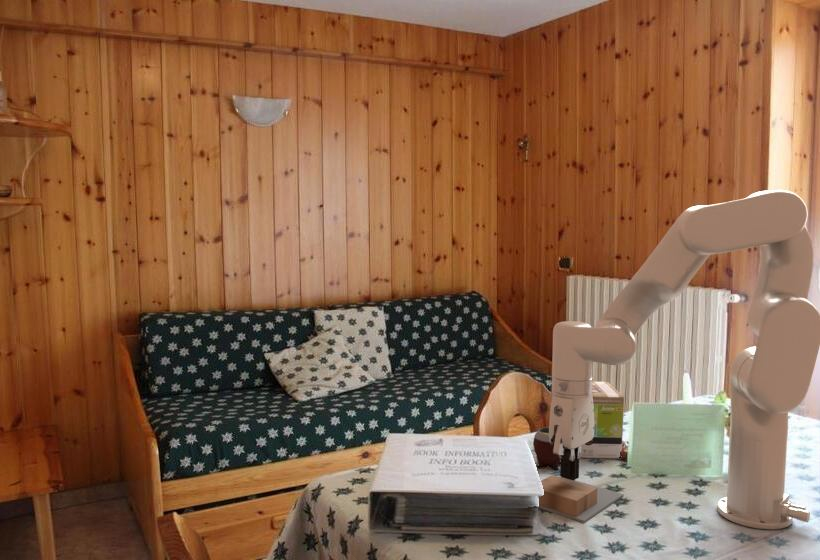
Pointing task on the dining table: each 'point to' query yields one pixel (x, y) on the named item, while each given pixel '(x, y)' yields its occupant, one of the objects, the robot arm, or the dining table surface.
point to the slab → (567, 495)
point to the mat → (603, 501)
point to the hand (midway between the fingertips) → (569, 477)
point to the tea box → (605, 423)
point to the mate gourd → (545, 449)
